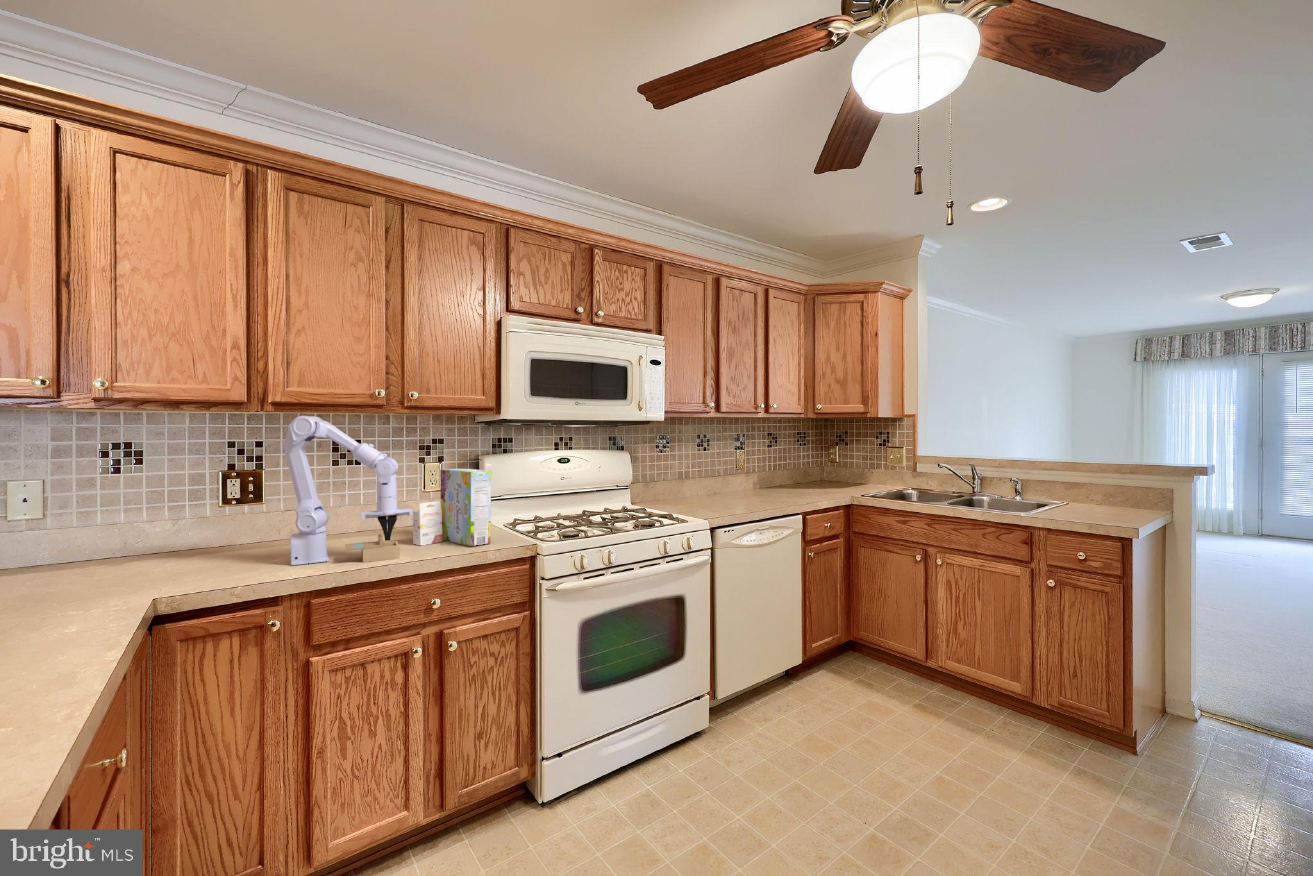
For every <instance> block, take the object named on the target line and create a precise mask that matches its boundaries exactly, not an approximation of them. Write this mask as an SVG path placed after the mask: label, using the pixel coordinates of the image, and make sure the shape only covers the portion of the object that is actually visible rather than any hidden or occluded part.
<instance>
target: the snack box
mask: <svg viewBox="0 0 1313 876" xmlns="http://www.w3.org/2000/svg"><path fill="white" fill-rule="evenodd" d="M439 472H440V501H441V510H442V541H447V542H451V543H455V544H460V545H463V546H468V547H477V546H476V545H479V546H482V545H483V544H485V545H490V544H491V541H492V540H491V539H492V535H491V534H492V531H491V527H492V523H491V521H492V520H491V518H492V517H491V515H492V514H491V513H492V510H491V508H492V504H491V503H492V501H491V500H492V499H491V498H492V493H491V492H492V491H491V490H492V471H491V470H486V469H485V470H484V469H475V468H442V469H440V471H439ZM483 546H484V545H483Z"/></svg>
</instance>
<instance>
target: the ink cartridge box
mask: <svg viewBox="0 0 1313 876" xmlns="http://www.w3.org/2000/svg"><path fill="white" fill-rule="evenodd" d="M430 505H431V506H430ZM427 506H428V507H427ZM429 506H430V507H429ZM412 538H413V539H412V540H413V541H412V542H413V543H412V544H413V545H414V544H416V545H415V546H419V545H423V546H427V545H426V544H429V545H432V544H433V543H434V544H438V543H437V542H439V543H443V540H442V510H441V500H438V501H437V500H436V501H429V502H428V501H427V502H421V503H419V510H413V515H412Z"/></svg>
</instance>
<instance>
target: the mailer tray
mask: <svg viewBox="0 0 1313 876" xmlns="http://www.w3.org/2000/svg"><path fill="white" fill-rule="evenodd" d="M400 554H401V553H400V544H399V543H398V541H397V540H395V541H394V540H393V541H384V542H383V547H379V548H369V549H361V559H362V563H370V562H369V561H372V562H379V561H381V560H382V561H389V560H391V561H392V560H397V559H396V558H400ZM400 559H401V558H400ZM382 561H381V562H382Z"/></svg>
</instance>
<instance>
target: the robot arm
mask: <svg viewBox="0 0 1313 876" xmlns="http://www.w3.org/2000/svg"><path fill="white" fill-rule="evenodd" d="M317 437H318V438H327V439H330V440H331V441H333V442H335V443H336V444H338V445H339V446H341V447H343V448H344V449H346V450H348V451H350V452H351V453H352V458H353V459H354V460H356V461H357V462H359V463H361V464H362V465H364V466H365V467H367V468H369V469H370V470H373V471H374V475H376V510H372V511H371V510H369V511H364V512H363V511H362V512H361V511H360V520H365V519H366V520H367V519H377V521H378V522H379V524H380V526H381V529H382V532H383V536H384V540H385V541H384V542H390V541H391V537H392V533H393V529H394V528H395V524H396V522H397V520H398V517H403V516H413V511H414V510H413V508H398V482H397V474H396V473H398V470H399V464H398V462H397V461H396V460H395V459H394V458H393V457H388V454H386V453H382V452H381V451H379V450H378V449H376V448H375V445H374V444H372V443H366V442H364V443H360V442H357V441H356V440H355V439H353V438H352V437H350V436H349V435H347V434H346V433H345V432H343V431H342V430H340V429H339V428H338V427H336V426H335V425H333V424H332V423H330V422H329V421H327V420H323V419H322V418H321V417H320V416H313V415H311V416H310V415H299V416H297V417H295V418H294V419H293V420H292V421H291V422H290V423H289V424H288V425H287V433H286V436H285V438H284V441H283V450H284V455H285V458H286V461H287V466H288V469H289V474H290V478H291V481H292V485H293V490H294V493H295V497H296V500H297V505H296V509H295V512H296V519H295V526H296V528H297V530H298V533H297V532H296V533H291V534H290V553H289V558H290V566H297V565H298V566H299V565H306V564H307V565H309V564H315V563H316V564H317V563H318V564H319V563H326V561H327V562H329V559H330V558H329V554H328V538H327V535H328V534H327V528H326V525H327V524H328V523H329V520H330V517H329V516H330V515H329V512H328V511H327V510H326V509H325V508H324V506H323V503H322V501H321V500H320V499H319V498H318V494H317V489H316V486H315V482H314V479H313V474H312V471H311V467H310V464H309V460H308V459H309V458H308V455H307V452H306V448H307V447H308V445H309V444H310V443H311V442H312V441H313V440H315V439H316V438H317ZM308 563H309V564H308Z"/></svg>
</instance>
